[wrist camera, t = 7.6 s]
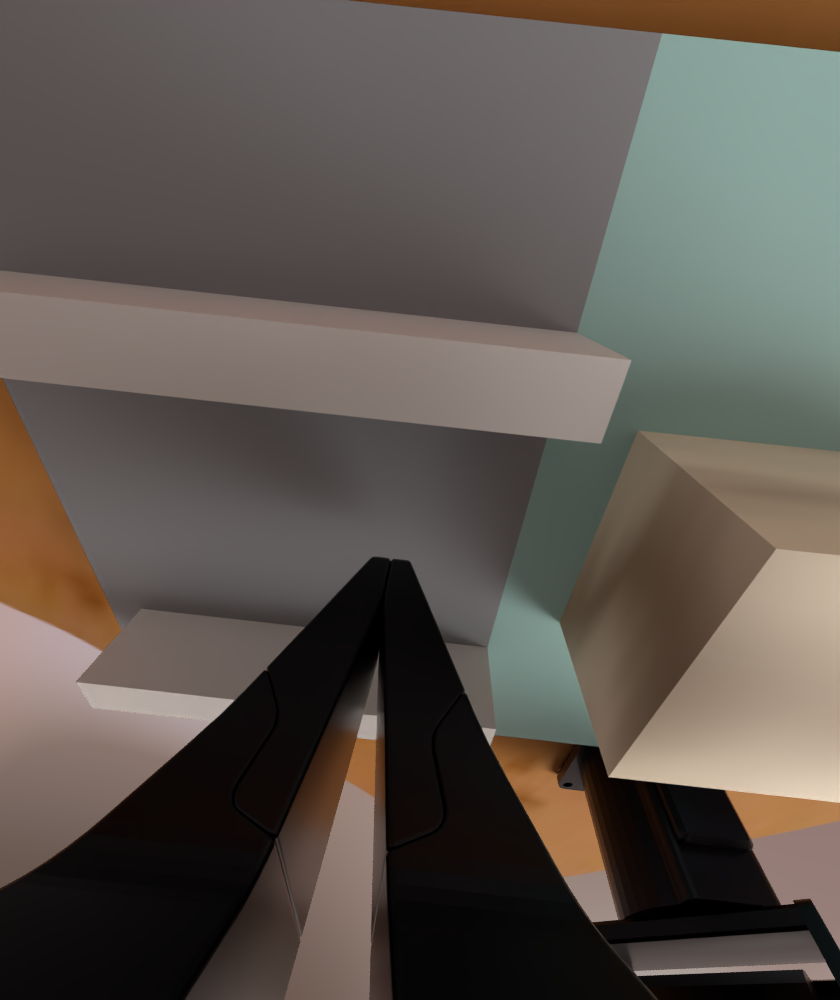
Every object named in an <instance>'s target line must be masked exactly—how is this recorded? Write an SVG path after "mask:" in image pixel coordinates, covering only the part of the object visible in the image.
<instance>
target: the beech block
mask: <svg viewBox="0 0 840 1000" xmlns="http://www.w3.org/2000/svg"><path fill="white" fill-rule="evenodd" d="M560 626H561V629H562V632H563V635H564V638H565V641H566V645H567V648H568V651H569V654H570V657H571V660H572V664H573V667H574V670H575V673H576V676H577V679H578V682H579V686H580V689H581V692H582V695H583V698H584V701H585V705H586V708H587V711H588V714H589V717H590V720H591V724H592V727H593V730H594V733H595V736H596V739H597V742H598V746H599V749H600V752H601V755H602V758H603V761H604V765H605V768H606V771H607V774H608V777H612V778H621V779H631V780H640V781H649V782H658V783H667V784H676V785H685V786H694V787H703V788H712V789H721V790H730V791H739V792H748V793H758V794H767V795H776V796H785V797H794V798H803V799H812V800H821V801H830V802H839V803H840V452H839V451H830V450H820V449H811V448H801V447H791V446H782V445H772V444H763V443H753V442H743V441H734V440H724V439H715V438H705V437H695V436H686V435H676V434H666V433H657V432H647V431H637V434H636V436H635V439H634V441H633V444H632V446H631V449H630V451H629V453H628V456H627V458H626V461H625V463H624V466H623V468H622V471H621V473H620V476H619V478H618V480H617V483H616V485H615V488H614V490H613V493H612V495H611V498H610V500H609V503H608V505H607V507H606V510H605V512H604V515H603V517H602V520H601V522H600V525H599V527H598V529H597V532H596V534H595V537H594V539H593V542H592V544H591V547H590V549H589V552H588V554H587V556H586V559H585V561H584V564H583V566H582V569H581V571H580V574H579V576H578V579H577V581H576V583H575V586H574V588H573V591H572V593H571V596H570V598H569V601H568V603H567V605H566V608H565V610H564V613H563V615H562V618H561V620H560Z"/></svg>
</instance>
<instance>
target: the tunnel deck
mask: <svg viewBox="0 0 840 1000" xmlns="http://www.w3.org/2000/svg"><path fill="white" fill-rule="evenodd" d="M0 378H2V379H3V381H4V383H5V385H6V387H7V389H8V392H9V394H10V396H11V398H12V400H13V402H14V404H15V406H16V408H17V410H18V413H19V415H20V417H21V419H22V421H23V423H24V425H25V427H26V429H27V432H28V434H29V436H30V438H31V440H32V442H33V444H34V446H35V448H36V451H37V453H38V455H39V457H40V459H41V461H42V463H43V465H44V467H45V469H46V472H47V474H48V476H49V478H50V480H51V482H52V484H53V486H54V488H55V491H56V493H57V495H58V497H59V499H60V501H61V503H62V505H63V507H64V509H65V512H66V514H67V516H68V518H69V520H70V522H71V524H72V526H73V528H74V531H75V533H76V535H77V537H78V539H79V541H80V543H81V545H82V547H83V550H84V552H85V554H86V556H87V558H88V560H89V562H90V564H91V566H92V568H93V571H94V573H95V575H96V577H97V579H98V581H99V583H100V585H101V587H102V590H103V592H104V594H105V596H106V598H107V600H108V602H109V604H110V606H111V609H112V611H113V613H114V615H115V617H116V619H117V621H118V623H119V625H120V627H121V630H122V631H121V632H120V633H119V634H118V635H117V636H116V638H115V639H114V640H113V641H112V642H111V643H110V644H109V645H108V646H107V648H106V649H105V650H104V651H103V652H102V653H101V654H100V655H99V657H98V658H97V659H96V660H95V661H94V662H93V663H92V665H90V667H89V668H88V669H87V670H86V671H85V672H84V673H83V674H82V675H81V677H80V678H79V679H78V680H77V681H76V683H77V685H78V686H79V688H80V690H81V691H82V692H83V694H84V696H85V697H86V699H87V701H88V702H89V704H90V705H91V707H92V708H97V709H106V710H115V711H124V712H133V713H141V714H150V715H159V716H168V717H178V718H186V719H196V720H204V721H214V720H215V719H216V718H217V717H218V716H219V715H220V714H221V713H222V712H223V711H224V710H225V709H226V708H227V707H228V706H229V705H230V704H231V703H232V702H233V701H234V700H235V699H236V698H237V697H238V696H239V695H240V694H241V693H242V692H243V691H244V690H245V689H246V688H247V687H248V686H249V685H250V684H251V683H252V682H253V681H254V680H255V679H256V678H257V677H258V676H259V675H260V674H261V673H262V671H264V670H266V671H267V667H268V665H269V664H270V663H271V662H272V661H273V660H274V659H275V658H276V657H277V656H278V655H279V654H280V653H281V652H282V651H283V650H284V649H285V648H286V646H287V645H288V644H289V643H290V642H291V641H292V640H293V639H294V638H295V637H296V636H297V635H298V634H299V633H300V632H301V631H302V630H303V629H304V628H305V626H306V625H307V624H308V623H309V622H310V621H311V620H312V619H313V618H314V617H315V616H316V615H317V614H318V613H319V612H320V611H321V610H322V609H323V608H324V606H325V605H326V604H327V603H328V602H329V601H330V600H331V599H332V598H333V597H334V596H335V595H336V594H337V593H338V592H339V591H340V590H341V589H342V587H343V586H344V585H345V584H346V583H347V582H348V581H349V580H350V579H351V578H352V577H353V576H354V575H355V574H356V573H357V572H358V571H359V570H360V569H361V567H362V566H363V565H364V564H365V563H366V562H367V561H368V560H369V559H370V558H371V557H373V556H377V557H385V558H389V559H390V560H392V559H402V560H409V561H410V562H411V564H412V566H413V568H414V571H415V573H416V575H417V578H418V580H419V582H420V585H421V587H422V590H423V592H424V594H425V597H426V599H427V601H428V604H429V606H430V608H431V611H432V613H433V616H434V618H435V620H436V623H437V625H438V627H439V630H440V632H441V635H442V637H443V639H444V642H445V644H446V646H447V649H448V651H449V653H450V656H451V658H452V661H453V663H454V665H455V668H456V670H457V672H458V675H459V677H460V680H461V682H462V684H463V687H464V689H465V692H464V693H466V694H467V696H468V698H469V700H470V703H471V705H472V707H473V710H474V712H475V714H476V717H477V719H478V721H479V723H480V725H481V728H482V730H483V732H484V734H485V736H486V738H487V741H488V743H489V745H491V742H492V739H493V737H494V735H498V736H507V737H516V738H525V739H534V740H543V741H552V742H561V743H570V744H578V745H587V746H596V747H599V746H598V742H597V739H596V736H595V733H594V730H593V727H592V724H591V720H590V717H589V714H588V711H587V708H586V705H585V701H584V698H583V695H582V692H581V689H580V686H579V682H578V679H577V676H576V673H575V670H574V667H573V664H572V660H571V657H570V654H569V651H568V648H567V645H566V641H565V638H564V635H563V632H562V629H561V626H560V620H561V618H562V615H563V613H564V610H565V608H566V605H567V603H568V601H569V598H570V596H571V593H572V591H573V588H574V586H575V583H576V581H577V579H578V576H579V574H580V571H581V569H582V566H583V564H584V561H585V559H586V556H587V554H588V552H589V549H590V547H591V544H592V542H593V539H594V537H595V534H596V532H597V529H598V527H599V525H600V522H601V520H602V517H603V515H604V512H605V510H606V507H607V505H608V503H609V500H610V498H611V495H612V493H613V490H614V488H615V485H616V483H617V480H618V478H619V476H620V473H621V471H622V468H623V466H624V463H625V461H626V458H627V456H628V453H629V451H630V449H631V446H632V444H633V441H634V439H635V436H636V434H637V431H647V432H657V433H666V434H676V435H686V436H695V437H705V438H715V439H724V440H734V441H743V442H753V443H763V444H772V445H782V446H791V447H801V448H811V449H820V450H830V451H839V452H840V52H835V51H826V50H816V49H807V48H797V47H788V46H778V45H769V44H759V43H749V42H740V41H730V40H721V39H711V38H702V37H692V36H683V35H673V34H664V33H654V32H645V31H635V30H626V29H616V28H606V27H597V26H587V25H578V24H568V23H559V22H549V21H540V20H530V19H521V18H511V17H502V16H492V15H483V14H473V13H463V12H454V11H444V10H435V9H425V8H416V7H406V6H397V5H387V4H378V3H368V2H359V1H349V0H0ZM378 663H379V656H378V661H377V665H376V669H375V673H374V677H373V680H372V684H371V688H370V691H369V695H368V698H367V702H366V706H365V709H364V713H363V716H362V720H361V724H360V727H359V731H358V734H357V738H363V739H372V740H376V728H377V690H378Z"/></svg>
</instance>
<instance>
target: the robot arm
mask: <svg viewBox="0 0 840 1000" xmlns="http://www.w3.org/2000/svg"><path fill="white" fill-rule="evenodd" d="M378 656H379V663H378V690H377V728H376V766H375V805H374V844H373V883H372V919H371V944H372V945H371V957H370V994H369V995H370V996H369V1000H840V949H839V948H838V946H837V944H836V942H835V941H834V939H833V937H832V935H831V934H830V932H829V930H828V928H827V927H826V925H825V924H824V922H823V920H822V918H821V916H820V915H819V913H818V911H817V910H816V908H815V906H814V905H813V903H812V901H811V899H802V900H794V901H793V902H794V903H795V904H789V905H781V903H780V901H779V900H778V898H777V896H776V894H775V892H774V890H773V888H772V887H771V884H770V882H769V881H768V879H767V877H766V875H765V873H764V871H763V869H762V867H761V865H760V863H759V862H758V859H757V858H756V856H755V854H754V852H753V850H752V848H753V843H752V840H751V838H750V836H749V834H748V832H747V830H746V829H745V827H744V825H743V823H742V821H741V819H740V817H739V815H738V814H737V812H736V810H735V808H734V806H733V804H732V802H731V800H730V799H729V797H728V795H727V793H726V791H725V790H721V789H712V788H703V787H694V786H685V785H676V784H667V783H658V782H649V781H640V780H631V779H621V778H612V777H608V774H607V771H606V768H605V765H604V761H603V758H602V755H601V752H600V749H599V747H596V746H587V745H578V744H576V745H575V746H574V748H573V750H572V751H571V753H570V755H569V757H568V758H567V760H566V762H565V763H564V765H563V767H562V768H561V770H560V772H559V773H558V775H557V780H558V785H559V787H561V788H563V789H571V790H580V791H585V795H586V798H587V802H588V806H589V810H590V814H591V817H592V821H593V825H594V829H595V833H596V836H597V840H598V844H599V848H600V852H601V855H602V859H603V863H604V867H605V871H606V874H607V878H608V882H609V886H610V890H611V893H612V897H613V901H614V905H615V909H616V912H617V916H618V920H614V921H603V922H591V920H590V919H589V917H588V916H587V915H586V913H585V912H584V910H583V909H582V907H581V906H580V904H579V903H578V901H577V900H576V898H575V896H574V895H573V893H572V892H571V890H570V889H569V887H568V885H567V884H566V882H565V880H564V878H563V877H562V875H561V873H560V872H559V870H558V868H557V866H556V865H555V863H554V861H553V859H552V857H551V856H550V854H549V852H548V850H547V849H546V847H545V845H544V843H543V841H542V840H541V838H540V836H539V834H538V832H537V831H536V829H535V827H534V825H533V824H532V822H531V820H530V818H529V816H528V815H527V813H526V811H525V809H524V807H523V806H522V804H521V802H520V800H519V799H518V797H517V795H516V793H515V791H514V790H513V788H512V786H511V784H510V782H509V781H508V779H507V777H506V775H505V773H504V771H503V769H502V768H501V766H500V764H499V762H498V760H497V758H496V756H495V754H494V752H493V750H492V749H491V747H490V745H489V743H488V741H487V738H486V736H485V734H484V732H483V730H482V728H481V725H480V723H479V721H478V719H477V717H476V714H475V712H474V710H473V707H472V705H471V703H470V700H469V698H468V696H467V694H466V693H464V692H465V689H464V687H463V684H462V682H461V680H460V677H459V675H458V672H457V670H456V668H455V665H454V663H453V661H452V658H451V656H450V653H449V651H448V649H447V646H446V644H445V642H444V639H443V637H442V635H441V632H440V630H439V627H438V625H437V623H436V620H435V618H434V616H433V613H432V611H431V608H430V606H429V604H428V601H427V599H426V597H425V594H424V592H423V590H422V587H421V585H420V582H419V580H418V578H417V575H416V573H415V571H414V568H413V566H412V564H411V562H410V561H409V560H402V559H392V560H390V559H389V558H385V557H377V556H373V557H371V558H370V559H369V560H368V561H367V562H366V563H365V564H364V565H363V566H362V567H361V569H360V570H359V571H358V572H357V573H356V574H355V575H354V576H353V577H352V578H351V579H350V580H349V581H348V582H347V583H346V584H345V585H344V586H343V587H342V589H341V590H340V591H339V592H338V593H337V594H336V595H335V596H334V597H333V598H332V599H331V600H330V601H329V602H328V603H327V604H326V605H325V606H324V608H323V609H322V610H321V611H320V612H319V613H318V614H317V615H316V616H315V617H314V618H313V619H312V620H311V621H310V622H309V623H308V624H307V625H306V626H305V628H304V629H303V630H302V631H301V632H300V633H299V634H298V635H297V636H296V637H295V638H294V639H293V640H292V641H291V642H290V643H289V644H288V645H287V646H286V648H285V649H284V650H283V651H282V652H281V653H280V654H279V655H278V656H277V657H276V658H275V659H274V660H273V661H272V662H271V663H270V664H269V665H268V667H267V671H266V670H264V671H262V673H261V674H260V675H259V676H258V677H257V678H256V679H255V680H254V681H253V682H252V683H251V684H250V685H249V686H248V687H247V688H246V689H245V690H244V691H243V692H242V693H241V694H240V695H239V696H238V697H237V698H236V699H235V700H234V701H233V702H232V703H231V704H230V705H229V706H228V707H227V708H226V709H225V710H224V711H223V712H222V713H221V714H220V715H219V716H218V717H217V718H216V719H215V720H214V721H212V723H210V724H209V725H208V726H207V727H206V728H205V729H204V730H203V731H202V732H200V733H199V734H198V735H197V736H196V737H195V738H194V739H193V740H192V741H190V742H189V743H188V744H187V745H186V746H185V747H184V748H183V749H181V750H180V751H179V752H178V753H177V754H176V755H175V756H174V757H172V758H171V759H170V760H169V761H168V762H166V763H165V764H164V765H163V766H162V767H161V768H160V769H158V770H157V771H156V772H155V773H154V774H153V775H152V776H150V777H149V778H148V779H147V780H146V781H145V782H144V783H142V784H141V785H140V786H139V787H138V788H137V789H136V790H135V791H133V792H132V793H131V794H130V795H129V796H128V797H126V798H125V799H124V800H123V801H122V802H121V803H120V804H118V805H117V806H116V807H115V808H114V809H113V810H111V811H110V812H109V813H108V814H107V815H106V816H105V817H103V818H102V819H101V820H100V821H99V822H98V823H96V824H95V825H94V826H93V827H92V828H91V829H90V830H88V831H87V832H86V833H84V834H83V835H82V836H80V837H79V838H78V839H77V840H75V841H74V842H73V843H71V844H70V845H69V846H67V847H66V848H65V849H63V850H62V851H60V852H59V853H57V854H56V855H55V856H53V857H52V858H50V859H49V860H47V861H46V862H44V863H43V864H41V865H40V866H38V867H36V868H35V869H33V870H32V871H30V872H29V873H27V874H25V875H23V876H22V877H20V878H18V879H16V880H15V881H13V882H11V883H9V884H8V885H5V886H4V887H2V888H0V1000H284V999H285V995H286V991H287V987H288V983H289V980H290V977H291V973H292V969H293V966H294V962H295V959H296V955H297V952H298V948H299V944H300V937H301V936H302V933H303V929H304V926H305V922H306V919H307V915H308V911H309V908H310V904H311V901H312V897H313V893H314V890H315V886H316V882H317V879H318V875H319V872H320V868H321V864H322V861H323V857H324V854H325V850H326V846H327V843H328V839H329V836H330V832H331V828H332V825H333V821H334V817H335V814H336V810H337V806H338V803H339V800H340V796H341V792H342V789H343V785H344V781H345V778H346V774H347V771H348V767H349V763H350V760H351V756H352V753H353V749H354V745H355V742H356V738H357V734H358V731H359V727H360V724H361V720H362V716H363V713H364V709H365V706H366V702H367V698H368V695H369V691H370V688H371V684H372V680H373V677H374V673H375V669H376V665H377V661H378ZM821 962H826V963H827V965H828V967H829V968H830V970H831V972H832V974H833V976H834V978H835V979H831V980H810V978H809V977H808V975H807V974H806V972H805V971H804V970H781V971H755V972H731V973H704V974H679V975H657V976H656V975H655V976H637V975H636V974H635V973H634V971H640V970H641V971H642V970H664V969H686V968H706V967H707V968H708V967H730V966H754V965H774V964H775V965H776V964H798V963H821Z"/></svg>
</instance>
